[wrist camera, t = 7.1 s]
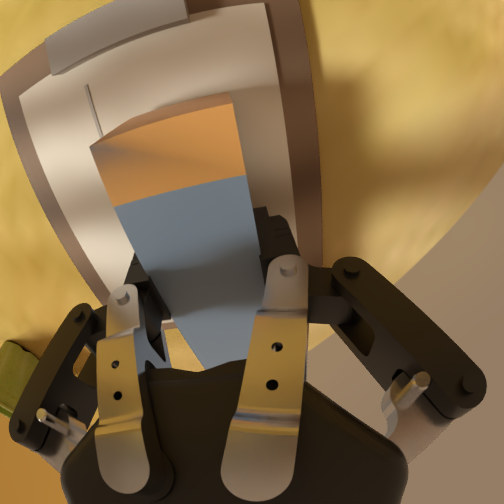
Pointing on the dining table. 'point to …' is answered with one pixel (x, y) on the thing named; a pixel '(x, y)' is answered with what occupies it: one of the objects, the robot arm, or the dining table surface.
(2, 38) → the dining table surface
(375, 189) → the dining table surface
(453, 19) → the dining table surface
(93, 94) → the clipboard
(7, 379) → the plant pot
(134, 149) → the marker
